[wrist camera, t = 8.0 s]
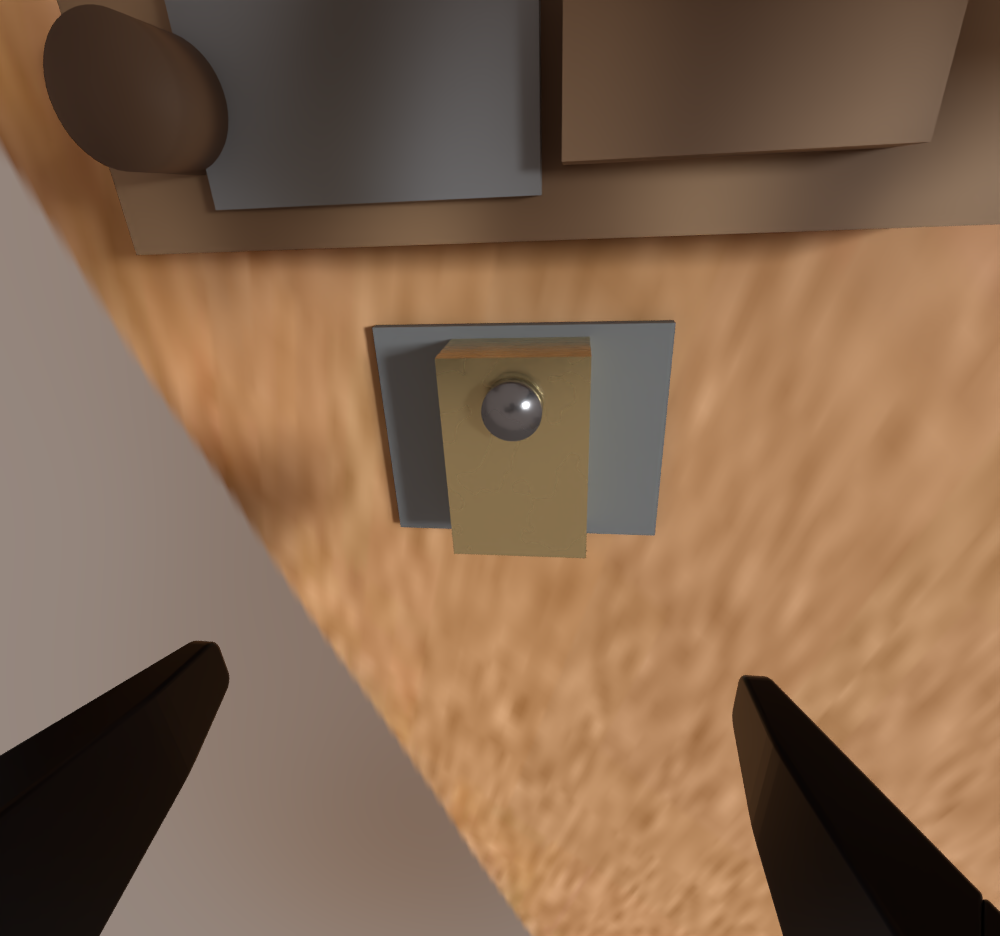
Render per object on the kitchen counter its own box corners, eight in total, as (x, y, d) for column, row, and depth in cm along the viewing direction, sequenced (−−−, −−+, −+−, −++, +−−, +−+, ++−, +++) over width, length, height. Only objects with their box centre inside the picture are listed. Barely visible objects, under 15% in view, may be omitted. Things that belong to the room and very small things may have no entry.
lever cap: (584, 519, 21) (586, 568, 18) (466, 516, 22) (450, 563, 19) (589, 336, 18) (591, 362, 15) (451, 339, 18) (429, 364, 16)
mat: (673, 320, 18) (675, 322, 17) (653, 529, 21) (654, 535, 21) (376, 325, 19) (372, 327, 19) (403, 521, 23) (400, 527, 22)
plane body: (1023, -87, 13) (1381, -311, 7) (937, 216, 16) (1144, 228, 10) (161, 1, 16) (-76, -110, 10) (221, 243, 18) (63, 265, 13)
